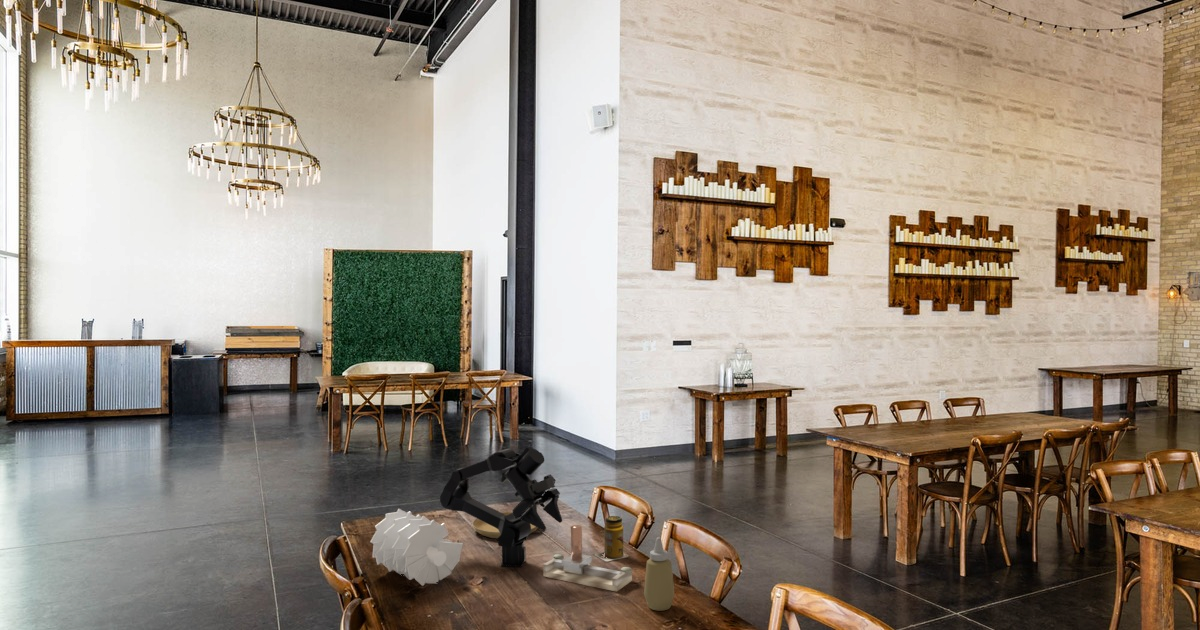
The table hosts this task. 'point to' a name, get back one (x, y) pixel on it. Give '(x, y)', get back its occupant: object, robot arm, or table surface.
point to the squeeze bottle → (659, 579)
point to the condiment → (613, 539)
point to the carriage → (576, 553)
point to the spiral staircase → (415, 547)
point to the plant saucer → (491, 528)
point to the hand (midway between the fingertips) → (553, 525)
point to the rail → (589, 575)
